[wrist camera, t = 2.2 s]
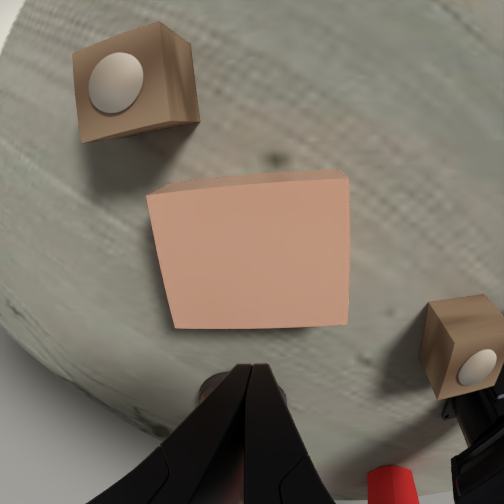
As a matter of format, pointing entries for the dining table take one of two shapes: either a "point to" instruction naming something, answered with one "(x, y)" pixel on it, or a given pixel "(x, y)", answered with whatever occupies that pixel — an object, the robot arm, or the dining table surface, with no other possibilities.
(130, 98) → the tagged walnut block
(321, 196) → the terracotta slab
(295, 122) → the dining table surface
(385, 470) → the french fries
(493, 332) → the tagged walnut block
